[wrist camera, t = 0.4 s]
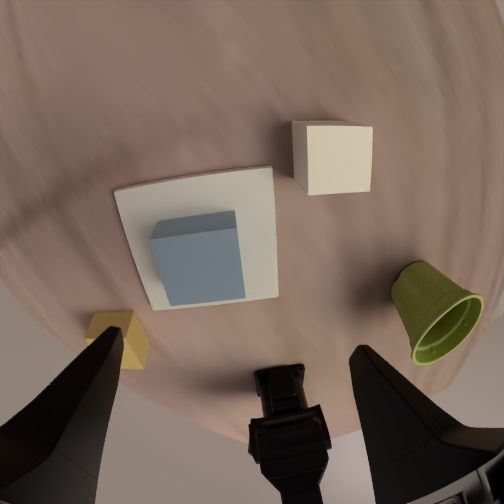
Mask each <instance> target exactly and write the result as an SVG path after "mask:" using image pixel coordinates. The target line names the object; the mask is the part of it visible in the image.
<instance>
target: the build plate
mask: <svg viewBox="0 0 504 504" xmlns="http://www.w3.org/2000/svg"><path fill="white" fill-rule="evenodd" d="M114 195H115V199H116V203H117V206H118V210H119V213H120V217H121V220H122V224H123V227H124V230H125V233H126V237H127V240H128V243H129V246H130V249H131V252H132V255H133V258H134V261H135V264H136V266H137V269H138V272H139V275H140V278H141V280H142V283H143V286H144V288H145V291H146V293H147V296H148V298H149V301H150V303H151V306H152V308H153V311H156V310H168V309H179V308H190V307H200V306H209V305H218V304H227V303H236V302H244V301H252V300H260V299H267V298H274V297H279V295H278V267H277V243H276V222H275V203H274V185H273V169H272V166H271V165H265V166H254V167H245V168H236V169H228V170H220V171H212V172H205V173H198V174H192V175H185V176H179V177H173V178H167V179H162V180H156V181H151V182H146V183H141V184H136V185H131V186H126V187H121V188H117V189H116V190H115V191H114ZM234 210H235V215H236V223H237V231H238V240H239V248H240V256H241V264H242V271H243V279H244V288H245V296H246V298H242V299H234V300H225V301H216V302H207V303H198V304H188V305H177V306H170V303H169V301H168V298H167V295H166V292H165V289H164V286H163V283H162V280H161V277H160V274H159V271H158V268H157V265H156V261H155V258H154V255H153V252H152V248H151V245H150V242H149V239H150V237H151V234H152V232H153V230H154V228H155V226H156V224H157V222H158V221H162V220H168V219H175V218H181V217H188V216H195V215H203V214H210V213H218V212H226V211H234Z"/></svg>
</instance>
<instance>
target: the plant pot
mask: <svg viewBox="0 0 504 504" xmlns="http://www.w3.org/2000/svg"><path fill="white" fill-rule="evenodd" d="M391 297H392V300H393V302H394V304H395V306H396V308H397V310H398V313H399V315H400V317H401V319H402V322H403V324H404V326H405V329H406V331H407V334H408V336H409V339H410V346H411V349H412V352H411V358H412V360H413V362H414V363H415V364H416V365H428V364H431V363H434V362H436V361H438V360H440V359H442V358H443V357H445V356H446V355H448V354H449V353H451V352H452V351H453V350H454V349H455V348H457V347H458V346H459V345H460V344H461V343H462V342H463V341H464V340H465V339H466V338H467V337H468V335H469V334H470V333H471V332H472V330H473V329H474V327H475V325H476V324H477V322H478V321H479V319H480V316H481V314H482V311H483V299H482V297H481V296H480V295H478V294H476V293H471V292H470V291H468V290H466V289H462V288H461V287H460V286H458V285H457V284H456V283H454V282H453V281H452V280H450V279H449V278H447V277H446V276H445V275H443V274H442V273H441V272H440V271H438V270H437V269H436V268H434V267H433V266H432V265H430V264H429V263H426V262H423V261H419V262H415V263H413V264H411V265H409V266H408V267H406V268H405V269H404V270H403V271H402V272H401V273H400V276H399V278H398V279H397V281H396V282H394V283H393V286H392V289H391Z"/></svg>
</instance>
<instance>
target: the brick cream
mask: <svg viewBox="0 0 504 504" xmlns="http://www.w3.org/2000/svg"><path fill="white" fill-rule="evenodd" d="M291 124H292V142H293V165H294V179H295V180H296V182H297V183H298V184H299V185H300V186H301V187H302V189H303V190H304V191H305V192H306V193H307V194H308V196H309V195H321V194H334V193H349V192H366V191H370V181H371V164H372V129H373V127H371V126H367V125H363V124H359V123H355V122H350V121H291Z"/></svg>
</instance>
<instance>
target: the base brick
mask: <svg viewBox="0 0 504 504" xmlns="http://www.w3.org/2000/svg"><path fill="white" fill-rule="evenodd" d="M149 242H150V245H151V248H152V252H153V255H154V258H155V261H156V265H157V268H158V271H159V274H160V277H161V280H162V283H163V286H164V289H165V292H166V295H167V298H168V301H169V303H170V306H177V305H188V304H198V303H207V302H216V301H225V300H234V299H242V298H246V296H245V288H244V279H243V271H242V264H241V256H240V248H239V240H238V231H237V223H236V215H235V210H234V211H226V212H218V213H210V214H203V215H195V216H188V217H181V218H175V219H168V220H162V221H158V222H157V224H156V226H155V228H154V230H153V232H152V234H151V237H150V239H149Z"/></svg>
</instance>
